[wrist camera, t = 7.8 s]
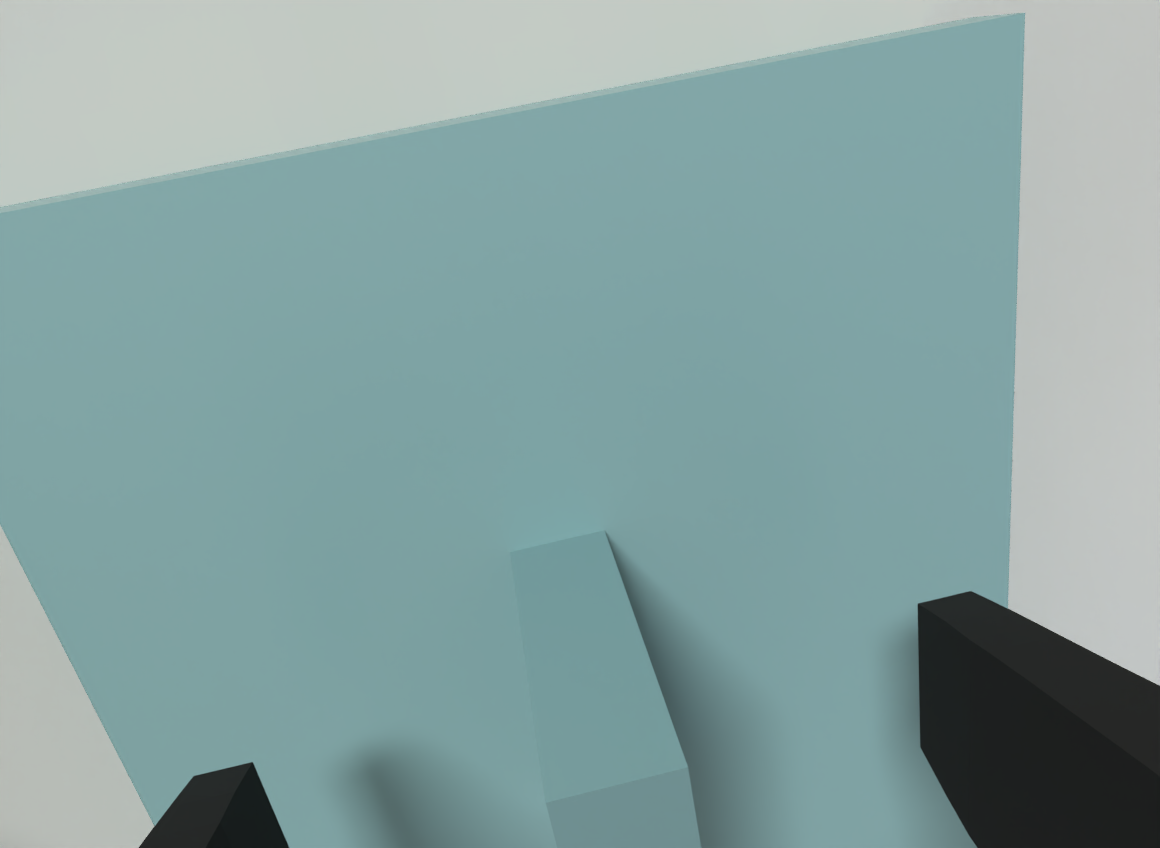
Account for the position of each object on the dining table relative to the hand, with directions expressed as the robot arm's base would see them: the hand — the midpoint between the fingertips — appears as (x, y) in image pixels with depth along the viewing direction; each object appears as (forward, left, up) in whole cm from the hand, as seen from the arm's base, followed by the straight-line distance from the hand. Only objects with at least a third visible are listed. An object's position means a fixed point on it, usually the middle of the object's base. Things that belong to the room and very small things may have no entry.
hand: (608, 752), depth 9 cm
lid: (0, +1, -4) cm, 4 cm away
